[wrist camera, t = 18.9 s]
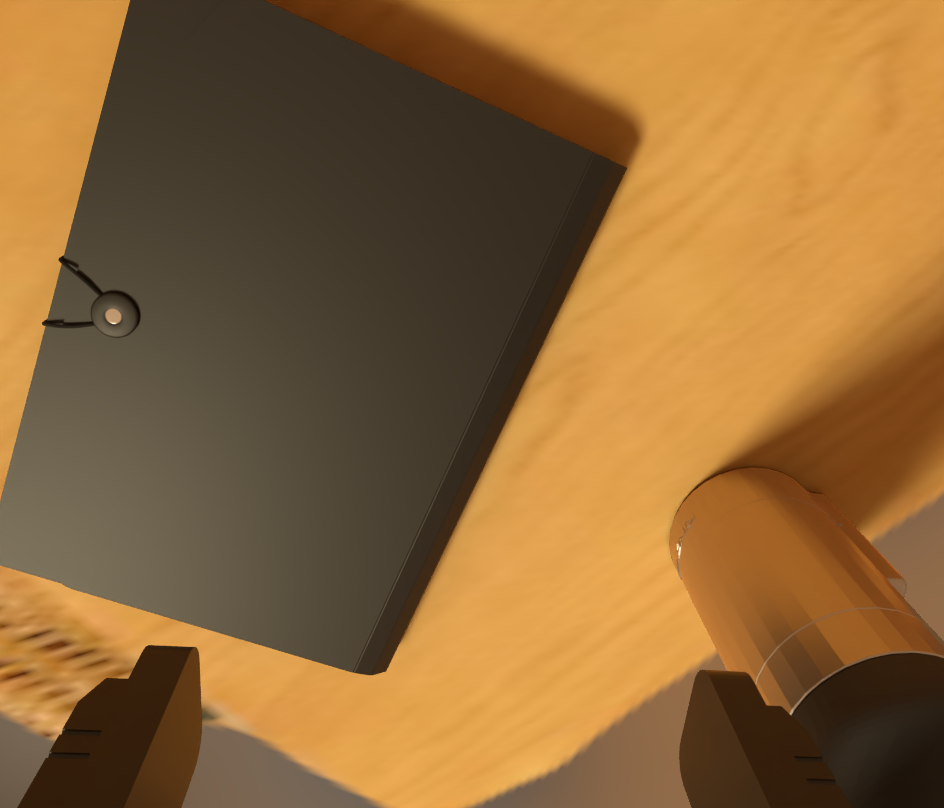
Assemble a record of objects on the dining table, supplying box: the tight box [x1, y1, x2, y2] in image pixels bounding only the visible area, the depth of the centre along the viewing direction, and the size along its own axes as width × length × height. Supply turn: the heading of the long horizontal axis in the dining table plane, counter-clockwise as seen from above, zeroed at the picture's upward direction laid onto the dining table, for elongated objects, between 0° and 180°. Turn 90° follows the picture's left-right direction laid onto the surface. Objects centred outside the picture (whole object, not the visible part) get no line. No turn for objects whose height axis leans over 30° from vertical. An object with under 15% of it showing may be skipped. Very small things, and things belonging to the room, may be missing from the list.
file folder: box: [0, 0, 627, 675], centre depth 44 cm, size 33×4×24 cm
